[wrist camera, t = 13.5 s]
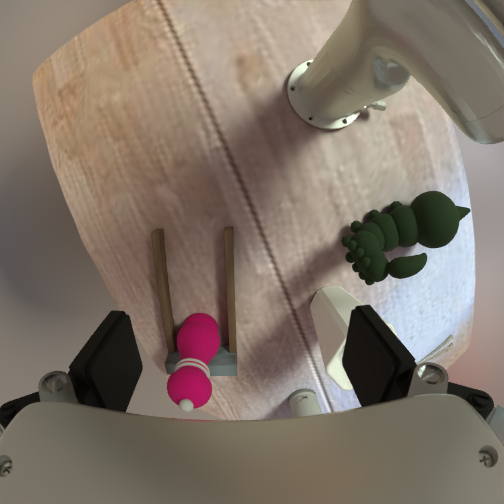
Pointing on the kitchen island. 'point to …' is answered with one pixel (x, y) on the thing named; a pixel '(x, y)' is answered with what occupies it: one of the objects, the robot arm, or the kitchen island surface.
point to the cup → (334, 328)
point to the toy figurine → (402, 236)
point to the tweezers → (438, 352)
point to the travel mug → (304, 403)
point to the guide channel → (226, 354)
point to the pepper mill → (194, 362)
